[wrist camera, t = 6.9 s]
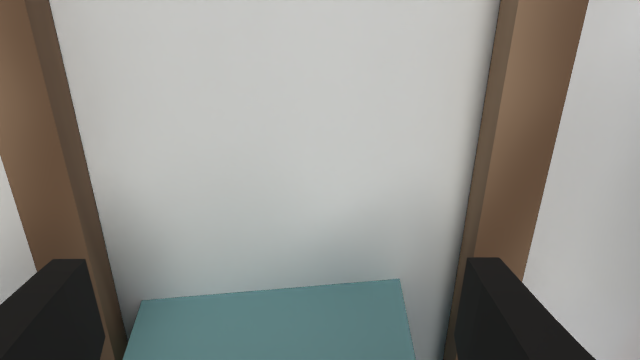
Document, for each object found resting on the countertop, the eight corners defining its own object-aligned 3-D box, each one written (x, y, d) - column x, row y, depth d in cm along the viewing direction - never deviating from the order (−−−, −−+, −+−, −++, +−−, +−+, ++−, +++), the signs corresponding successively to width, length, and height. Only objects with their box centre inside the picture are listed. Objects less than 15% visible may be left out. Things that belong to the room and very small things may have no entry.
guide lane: (572, -34, 14) (660, 21, 10) (466, 453, 23) (494, 564, 20) (-28, -33, 13) (-140, 22, 10) (114, 458, 23) (81, 572, 20)
